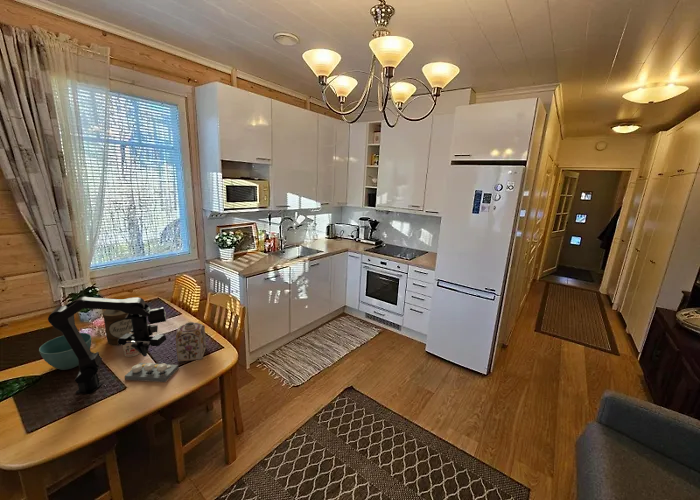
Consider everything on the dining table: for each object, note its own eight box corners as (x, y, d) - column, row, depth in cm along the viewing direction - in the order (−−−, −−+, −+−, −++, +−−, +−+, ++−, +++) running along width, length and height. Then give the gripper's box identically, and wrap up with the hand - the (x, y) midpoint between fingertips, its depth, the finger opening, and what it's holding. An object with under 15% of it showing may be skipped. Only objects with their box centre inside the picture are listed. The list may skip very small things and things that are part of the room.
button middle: (151, 374, 138) (150, 368, 137) (142, 374, 138) (141, 367, 137) (156, 369, 142) (156, 362, 141) (148, 368, 142) (147, 362, 141)
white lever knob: (163, 375, 138) (163, 368, 137) (155, 374, 138) (154, 368, 137) (169, 370, 142) (168, 363, 141) (161, 369, 142) (160, 363, 141)
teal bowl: (101, 361, 149) (97, 339, 146) (52, 382, 134) (47, 358, 131) (86, 350, 158) (82, 329, 155) (38, 367, 142) (33, 345, 140)
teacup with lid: (124, 359, 152) (120, 338, 149) (123, 350, 158) (119, 331, 156) (152, 351, 159) (149, 331, 156) (149, 343, 166) (147, 324, 163)
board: (165, 382, 137) (165, 378, 136) (125, 379, 137) (124, 375, 137) (178, 368, 146) (178, 364, 146) (140, 366, 147) (140, 362, 146)
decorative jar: (177, 362, 151) (173, 330, 147) (183, 349, 162) (180, 319, 158) (202, 359, 154) (200, 328, 150) (207, 347, 165) (204, 317, 161)
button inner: (138, 376, 138) (137, 369, 137) (130, 375, 138) (129, 369, 138) (144, 370, 142) (144, 364, 141) (136, 370, 142) (135, 364, 141)
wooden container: (114, 348, 160) (108, 311, 155) (102, 340, 167) (96, 304, 162) (144, 337, 172) (140, 302, 167) (132, 329, 180) (127, 295, 174)
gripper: (171, 317, 142) (175, 346, 146) (132, 316, 142) (137, 345, 146) (156, 329, 131) (160, 360, 135) (114, 328, 131) (120, 359, 135)
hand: (145, 355), depth 138 cm, fingers closed
